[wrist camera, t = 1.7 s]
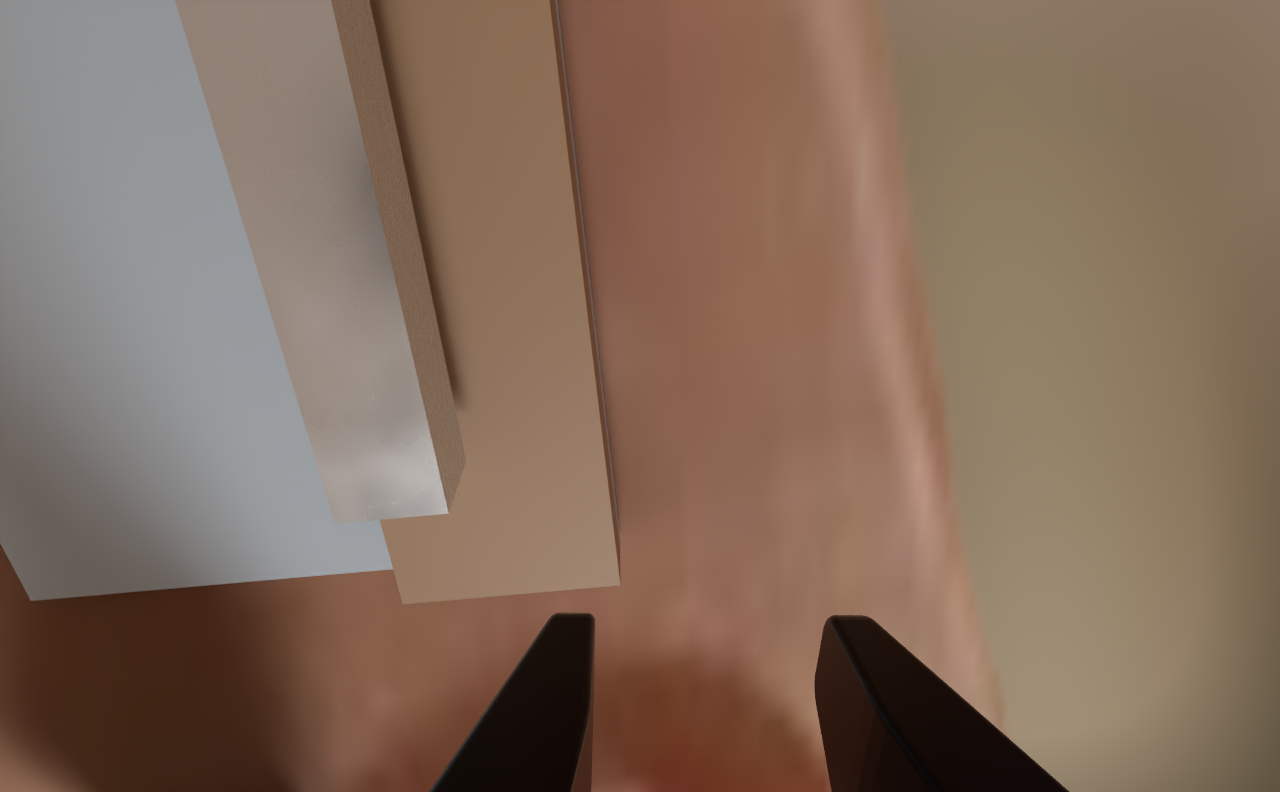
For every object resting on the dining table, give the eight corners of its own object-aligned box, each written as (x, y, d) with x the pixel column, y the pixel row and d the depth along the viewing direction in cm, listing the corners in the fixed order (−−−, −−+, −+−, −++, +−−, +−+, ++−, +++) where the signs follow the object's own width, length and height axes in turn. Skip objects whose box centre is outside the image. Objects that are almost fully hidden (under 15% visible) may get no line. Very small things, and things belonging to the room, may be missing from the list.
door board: (50, 581, 22) (-119, 749, 17) (-433, -357, 13) (-1076, -590, 8) (619, 531, 22) (621, 685, 17) (504, -452, 13) (435, -749, 8)
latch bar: (113, -310, 11) (-13, -394, 9) (335, -332, 11) (265, -422, 9) (341, 472, 17) (299, 541, 15) (489, 459, 17) (470, 526, 15)
